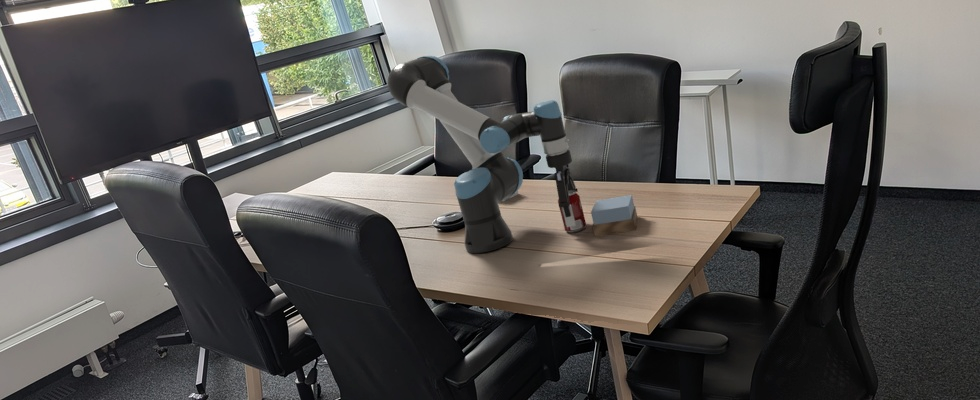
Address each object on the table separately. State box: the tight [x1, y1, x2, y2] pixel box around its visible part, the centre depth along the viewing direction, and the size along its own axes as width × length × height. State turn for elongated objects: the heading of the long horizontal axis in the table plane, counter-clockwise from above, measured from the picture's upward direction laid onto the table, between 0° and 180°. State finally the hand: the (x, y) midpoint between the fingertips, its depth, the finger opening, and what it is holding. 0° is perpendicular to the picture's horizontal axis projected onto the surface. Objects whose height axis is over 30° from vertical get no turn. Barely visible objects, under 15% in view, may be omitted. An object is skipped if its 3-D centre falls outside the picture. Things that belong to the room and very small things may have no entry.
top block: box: [590, 194, 635, 225], centre depth 221 cm, size 11×11×4 cm
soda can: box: [557, 190, 587, 233], centre depth 229 cm, size 7×7×12 cm
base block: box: [592, 205, 638, 238], centre depth 223 cm, size 12×12×4 cm
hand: (573, 219), depth 230 cm, fingers open, 12 cm apart
